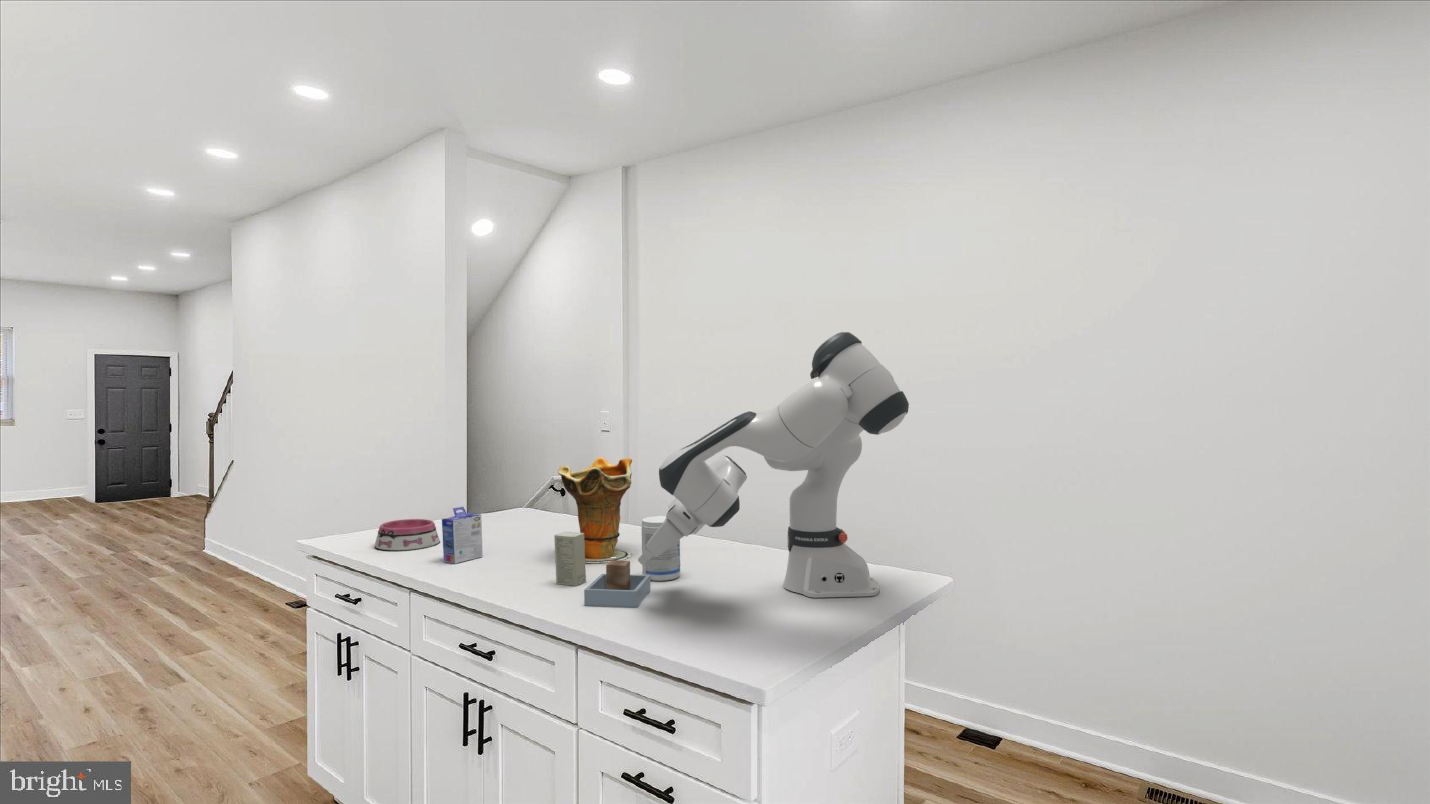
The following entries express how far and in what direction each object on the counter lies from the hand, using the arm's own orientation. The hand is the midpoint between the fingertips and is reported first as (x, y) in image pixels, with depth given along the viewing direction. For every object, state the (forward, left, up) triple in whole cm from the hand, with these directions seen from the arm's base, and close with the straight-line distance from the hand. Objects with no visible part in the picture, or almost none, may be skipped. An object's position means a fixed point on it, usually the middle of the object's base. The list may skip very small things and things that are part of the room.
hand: (645, 556), depth 166 cm
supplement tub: (0, -19, -10) cm, 22 cm away
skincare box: (+21, -11, -10) cm, 26 cm away
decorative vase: (+22, -39, -10) cm, 46 cm away
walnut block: (+6, -1, -10) cm, 12 cm away
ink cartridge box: (+59, -31, -10) cm, 68 cm away
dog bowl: (+85, -47, -10) cm, 98 cm away
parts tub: (+6, -1, -10) cm, 12 cm away
